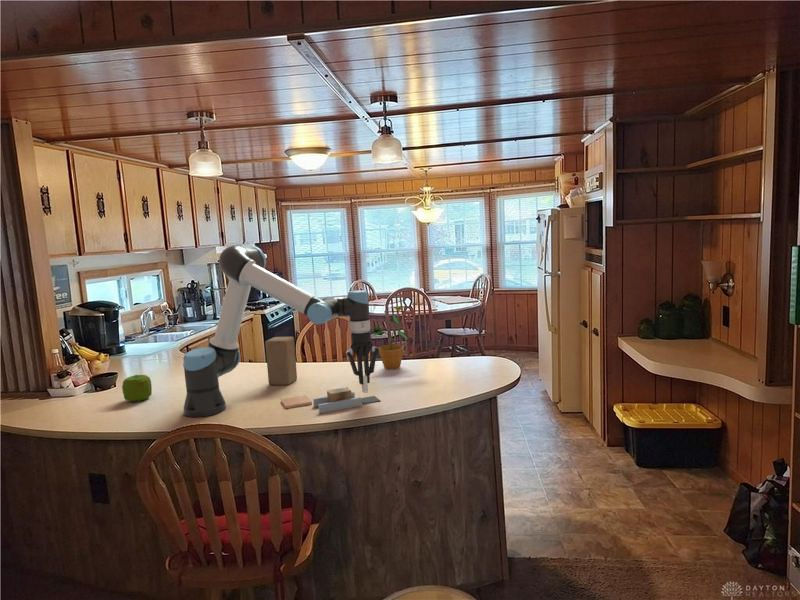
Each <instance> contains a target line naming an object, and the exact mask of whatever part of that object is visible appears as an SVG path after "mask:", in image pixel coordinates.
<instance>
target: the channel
mask: <svg viewBox="0 0 800 600" xmlns="http://www.w3.org/2000/svg"><path fill="white" fill-rule="evenodd" d="M351 395H352V399H347V400H341V401H335V402H329V403H328V398H327V395H326V396H321V397H315V398H312V399H313V400H312V401H313V402H312V403H313V408H316V407H317V408H318V414H322V413H328V412H334V411H339V410H345V409H350V408H355V407H361V406H362V403H361V398H362V397H361V396H359V397H355V396H356V395H355V392H354V391H351Z"/></svg>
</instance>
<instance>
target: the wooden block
mask: <svg viewBox="0 0 800 600" xmlns="http://www.w3.org/2000/svg"><path fill="white" fill-rule="evenodd" d="M264 343H265V356H266V357H265V358H266V364H267V366H266V367H267V368H266V369H267V380H268V384H269V385H271V386H289V385H291V384H292V383H293V382H295V381H296V380H297V379H298V372H297V371H298V370H297V362H296V361H297V358H296V349H295V347H296V346H295V337H294V336H274V337H272V338H270V339H267V340H265V342H264Z"/></svg>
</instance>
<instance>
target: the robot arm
mask: <svg viewBox="0 0 800 600" xmlns="http://www.w3.org/2000/svg"><path fill="white" fill-rule="evenodd" d="M266 264H267V258H266V255H265V253H264V251H262V249H261V248H259V247H258V246H256V245H251V244H244V245H232V246H231V245H230V246H228V247H227V248H225V249H223V250H222V252H221V253H220V254H219V257H218V265H219V268H220V271H221V272H222V273H223V274H224V275H225V276H226V277H227V279H228V284H227V288H226V291H225V295H224V299H223V303H222V307H221V311H220V315H219V319H218V322H217V326H216V330H215V333H214V334H215V335H214V336H213V337H211V338H210V339H209V341H208V345H207V346H206V347H205V346H204V347H198V348H196V349H195V348H194V349H192V350H190V351H188V352H186V353H185V354H184V355H183V357H182V359H183V363H182V365H183V371H184V378H185V388H186V396H185V399H184V404H183V415H184V416H185V417H189V418H202V417H203V418H204V417H210V416H213V415H217V414H219V413H221V412H224V411H225V410H226V408H227V405H226V401H225V398H224V395H223V394H222V392H221V390H220V384H219V381H220V380H219V377H221V376H223V375H226V374H228V373H231V372H232V371H234V369H235V368H236V367H237V366H238V365H239V363H240V360H241V352H240V351H239V348H240V344H239V343H238V341H237V340H238V337H239V334H240V333H239V332H240V329H241V325H242V323H243V319H244V314H245V310H246V307H247V304H248V300H249V296H250V292H251V289H252V288H255V289H257V291H260V292H262V293H264V294H266V295H267V296H269V297H271V298H273V299H275V300H277V301H279V302H280V303H283V304H284V305H286V306H287V307H290V308H292V309H293V310H295V311H297V312H299V313H302V314H303V315H305V316H307V319H308V320H309V321H310V322H311V323H312V324H315V325H322V324H325V323H328V322H329V321H331V320H333V319H335V318H342V317H348V318H349V325H350V326H349V327H350V332H351V333H350V340H351V345H350V348H349V349H348V350H346V351H345V352H344V353H345V355H346V356H347V358H348V360H349V363H350V366H351V369H352V373H353V375H355V376H356V377H357V376H358V383H359V384H360V385H361V391H362V392H363V393H364V394H369V388H368V387H369V385H368V384H370V383H371V382H370V381H371V380H370V376H371V374H373V373H375V366H376V359H377V354H378V352H379V347H377V346H374V345H373V342H372V332H371V321H370V319H371V317H370V304H369V295H368V292H367V291H366V290H362V289H359V290H358V289H357V290H350V291H348V292H347V295H346V296H336V297H335V296H326V297H321V298H319V297H318V296H315V295H314V294H312V293H310V292H308V291H306V290H304V289H302V288H300V287H299V286H296V285H294V284H293V283H291V282H290V281H288V280H286V279H284V278H282V277H280V276H278V275H276V274H275V273H272V272H271V271H268V270H266V269H265V268H266V266H267V265H266ZM370 352H371V355H369V354H370ZM353 353H354V354H355V356H356V361H357V363H356V361H355V359H354V356H353V355H354V354H353ZM369 357H370V358H369ZM369 359H370V361H369ZM356 364H357V365H356ZM363 370H364V371H363Z"/></svg>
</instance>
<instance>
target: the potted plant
mask: <svg viewBox="0 0 800 600" xmlns="http://www.w3.org/2000/svg"><path fill="white" fill-rule="evenodd" d="M407 307H408V306H402V305H401V306H399V305H398V306H391V307H390V309H395V310H397V311H398V313H397V317H396V316H395V315H393V316H392V317H391V319H390V320H389V321H390V322H392V323H395V325H394V328H393V330H392V333H391V335H390V334H389V333H387V331H386V330H385V326H373V329H374V330H373V331H372V332H371V335H377V336H381V337H382V336H383V335H384V334H386V335H388V337H389V338H390V343H389V344H385V345H380V346H379V347H378V348H379V350H378V352H379V355H380V359H381V362H382V364H383V368H384V369H385V370H387V369H394V370H397V369H396V368H398V369H400V368H401V364H402V360H403V355H404V350H405V346H404V345H403V344H395V343H393V337H394V333H395V332H397V335H398V336H400V337H402V338H403V339H406V340H408V335H407V333H405V332H403V331H401V330H399V328H397V327H399V326H400V325H399V324H400V323H401V321H400V320H399V316H400V311H401V310H402V309H403V308H404V309H405V308H407ZM396 326H397V327H396ZM382 328H383V330H381V329H382ZM396 328H397V329H396ZM399 367H400V368H399Z"/></svg>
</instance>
